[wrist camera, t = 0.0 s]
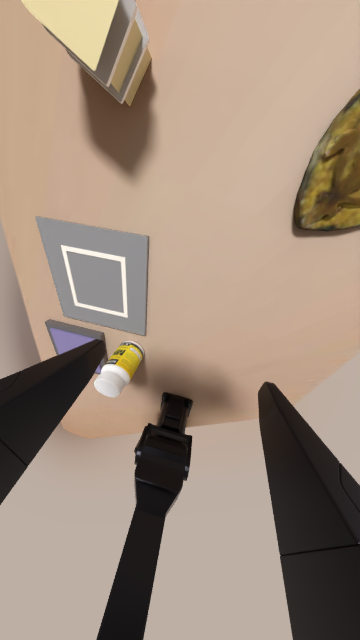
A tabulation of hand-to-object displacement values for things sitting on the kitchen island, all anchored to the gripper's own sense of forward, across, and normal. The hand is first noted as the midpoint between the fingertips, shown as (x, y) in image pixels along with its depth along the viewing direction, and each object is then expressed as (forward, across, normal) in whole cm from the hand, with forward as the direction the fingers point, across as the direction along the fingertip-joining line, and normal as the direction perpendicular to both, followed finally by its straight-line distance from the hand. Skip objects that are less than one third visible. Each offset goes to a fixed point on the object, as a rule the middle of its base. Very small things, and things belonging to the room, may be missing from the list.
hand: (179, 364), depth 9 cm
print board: (+15, +15, +3) cm, 21 cm away
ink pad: (+15, +21, +18) cm, 32 cm away
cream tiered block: (+15, +11, -18) cm, 26 cm away
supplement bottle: (+15, +10, +15) cm, 24 cm away
